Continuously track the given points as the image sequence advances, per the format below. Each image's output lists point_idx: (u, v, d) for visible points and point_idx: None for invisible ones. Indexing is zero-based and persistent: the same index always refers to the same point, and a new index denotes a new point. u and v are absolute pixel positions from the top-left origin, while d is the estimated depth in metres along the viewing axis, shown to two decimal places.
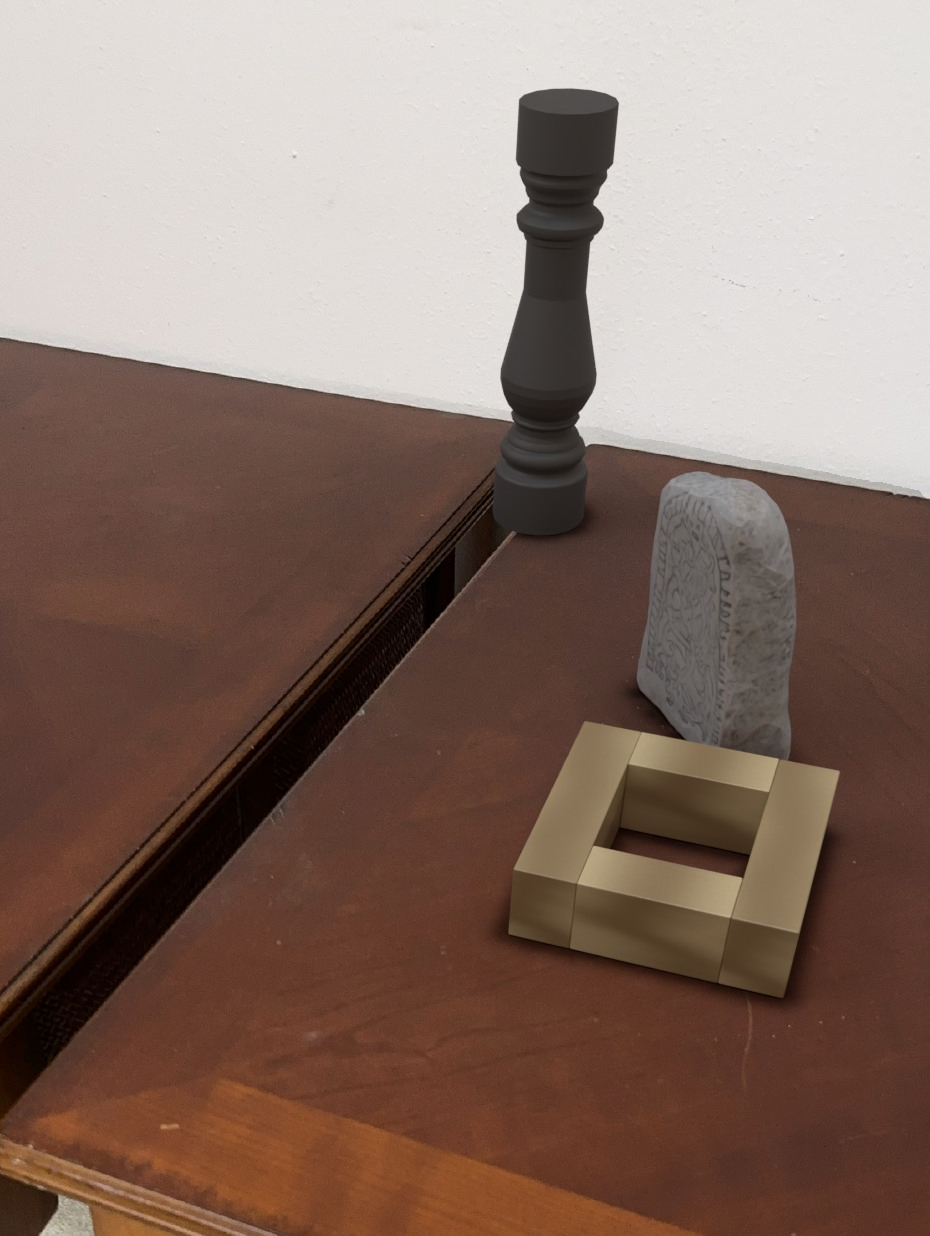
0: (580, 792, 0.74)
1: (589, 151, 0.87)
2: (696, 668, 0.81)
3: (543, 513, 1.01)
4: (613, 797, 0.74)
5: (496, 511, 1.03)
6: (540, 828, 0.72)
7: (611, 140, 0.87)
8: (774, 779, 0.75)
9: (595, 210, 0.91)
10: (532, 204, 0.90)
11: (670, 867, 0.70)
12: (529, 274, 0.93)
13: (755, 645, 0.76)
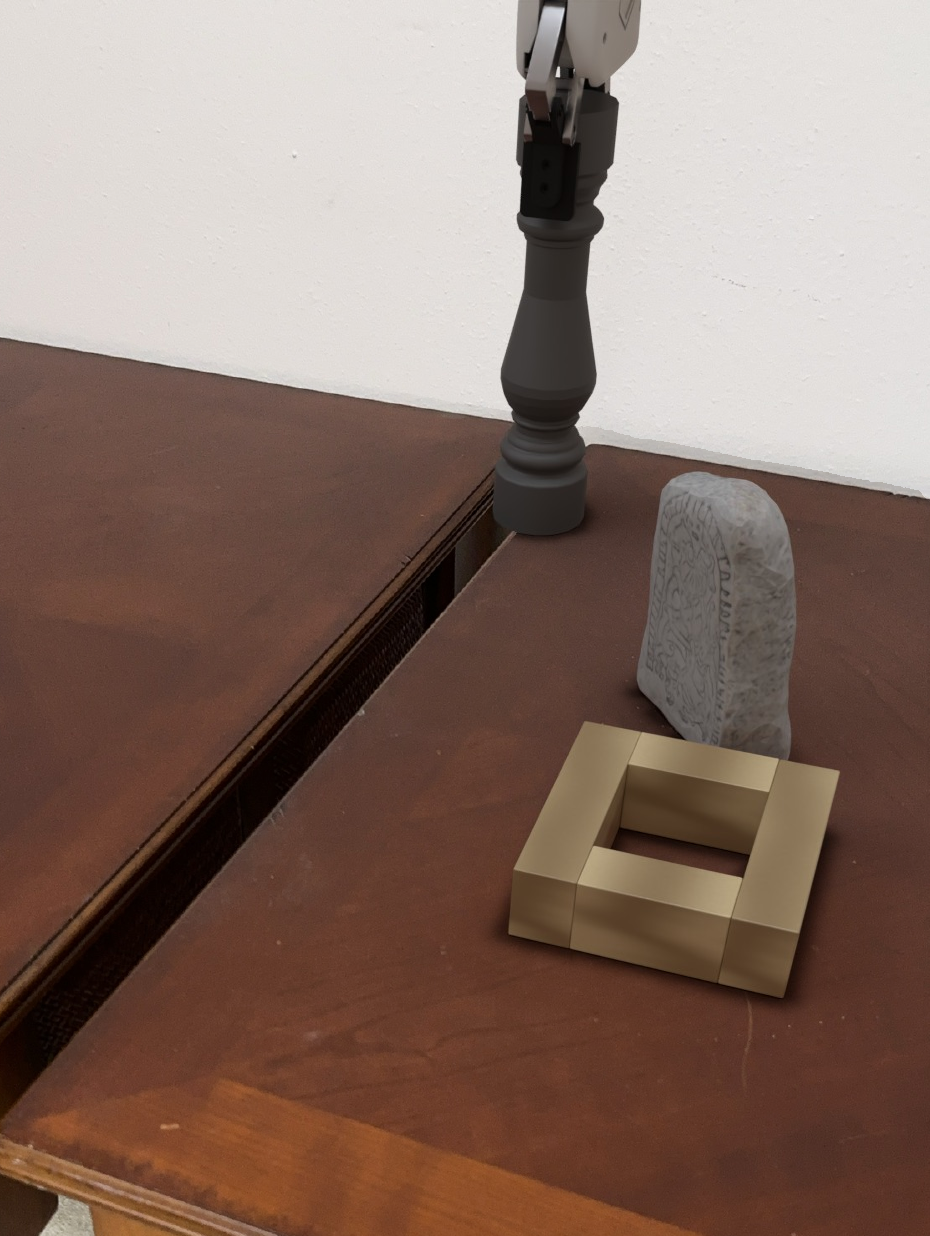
0: (580, 792, 0.74)
1: (590, 151, 0.87)
2: (696, 668, 0.81)
3: (543, 513, 1.01)
4: (613, 797, 0.74)
5: (496, 511, 1.03)
6: (540, 828, 0.72)
7: (611, 140, 0.87)
8: (774, 779, 0.75)
9: (596, 210, 0.91)
10: None
11: (670, 867, 0.70)
12: (529, 274, 0.93)
13: (755, 645, 0.76)
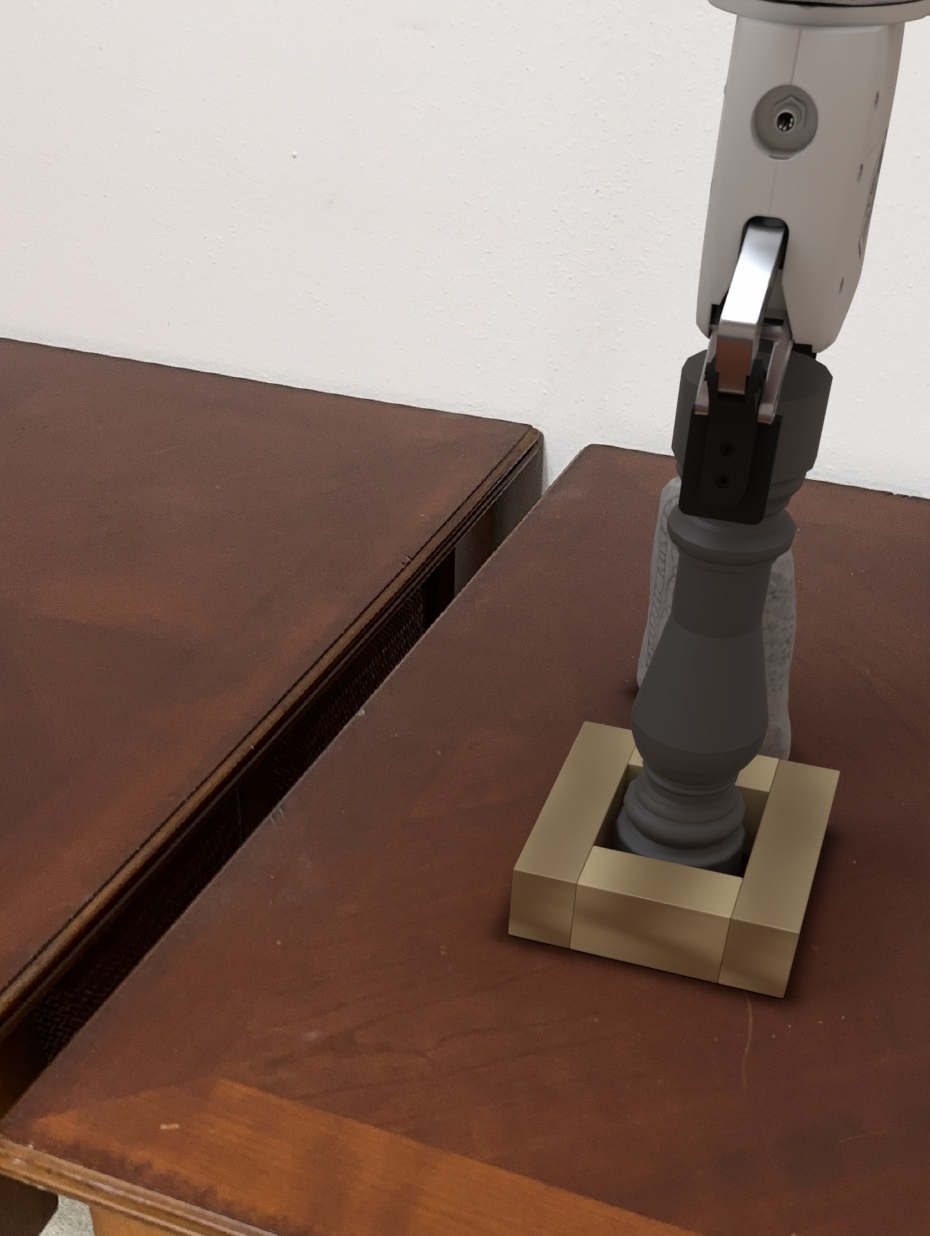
0: (580, 792, 0.74)
1: (789, 450, 0.58)
2: None
3: None
4: (613, 797, 0.74)
5: None
6: (540, 828, 0.72)
7: (820, 430, 0.59)
8: (774, 779, 0.75)
9: (785, 517, 0.62)
10: None
11: (670, 867, 0.70)
12: (683, 599, 0.64)
13: None
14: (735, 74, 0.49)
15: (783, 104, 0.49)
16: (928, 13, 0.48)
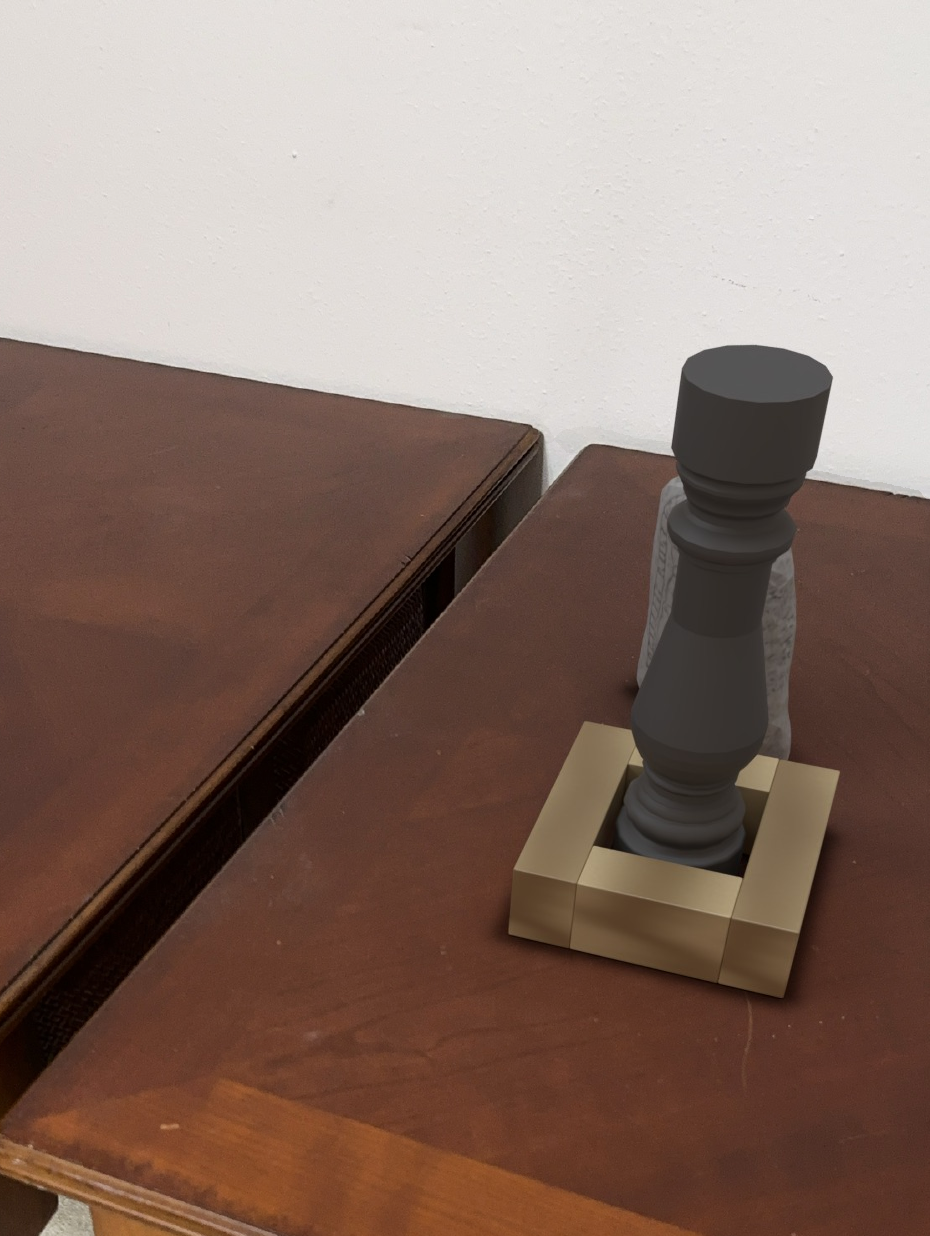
0: (580, 792, 0.74)
1: (790, 450, 0.58)
2: None
3: None
4: (613, 797, 0.74)
5: None
6: (540, 828, 0.72)
7: (820, 430, 0.59)
8: (774, 779, 0.75)
9: (785, 517, 0.62)
10: (693, 510, 0.62)
11: (670, 867, 0.70)
12: (683, 599, 0.64)
13: None
14: None
15: None
16: None
